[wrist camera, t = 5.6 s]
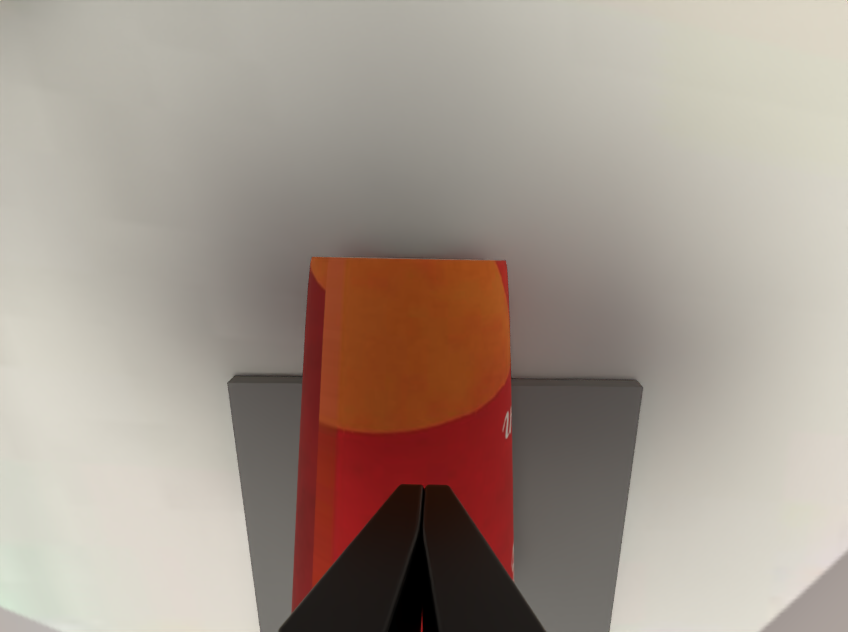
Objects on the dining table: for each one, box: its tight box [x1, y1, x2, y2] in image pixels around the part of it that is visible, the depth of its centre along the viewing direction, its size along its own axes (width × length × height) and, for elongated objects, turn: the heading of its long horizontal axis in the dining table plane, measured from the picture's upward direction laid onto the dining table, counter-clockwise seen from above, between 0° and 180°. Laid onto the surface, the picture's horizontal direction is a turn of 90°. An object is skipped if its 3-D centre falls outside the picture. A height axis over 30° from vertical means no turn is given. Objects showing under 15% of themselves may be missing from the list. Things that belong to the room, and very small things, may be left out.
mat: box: [227, 376, 643, 632], centre depth 19 cm, size 13×15×1 cm
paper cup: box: [291, 257, 514, 632], centre depth 14 cm, size 8×8×14 cm
